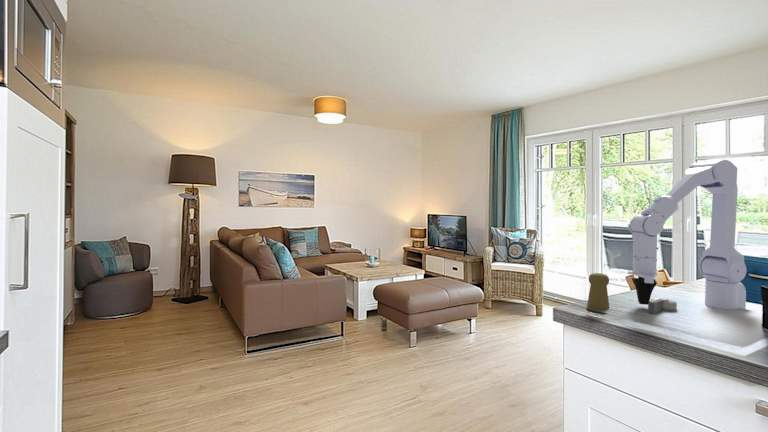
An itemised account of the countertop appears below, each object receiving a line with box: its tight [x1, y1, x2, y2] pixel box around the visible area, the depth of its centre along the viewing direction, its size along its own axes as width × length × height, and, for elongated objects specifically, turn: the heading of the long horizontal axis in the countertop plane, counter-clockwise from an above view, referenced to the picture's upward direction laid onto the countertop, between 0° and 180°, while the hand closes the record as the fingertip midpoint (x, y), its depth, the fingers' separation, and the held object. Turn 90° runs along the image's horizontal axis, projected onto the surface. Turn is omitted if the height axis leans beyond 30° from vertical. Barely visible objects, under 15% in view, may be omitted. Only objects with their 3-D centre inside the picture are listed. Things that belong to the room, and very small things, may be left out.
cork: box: [586, 272, 610, 315], centre depth 114 cm, size 6×6×11 cm
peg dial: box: [647, 297, 678, 315], centre depth 110 cm, size 12×6×3 cm, turn 126°
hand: (643, 303), depth 113 cm, fingers closed
